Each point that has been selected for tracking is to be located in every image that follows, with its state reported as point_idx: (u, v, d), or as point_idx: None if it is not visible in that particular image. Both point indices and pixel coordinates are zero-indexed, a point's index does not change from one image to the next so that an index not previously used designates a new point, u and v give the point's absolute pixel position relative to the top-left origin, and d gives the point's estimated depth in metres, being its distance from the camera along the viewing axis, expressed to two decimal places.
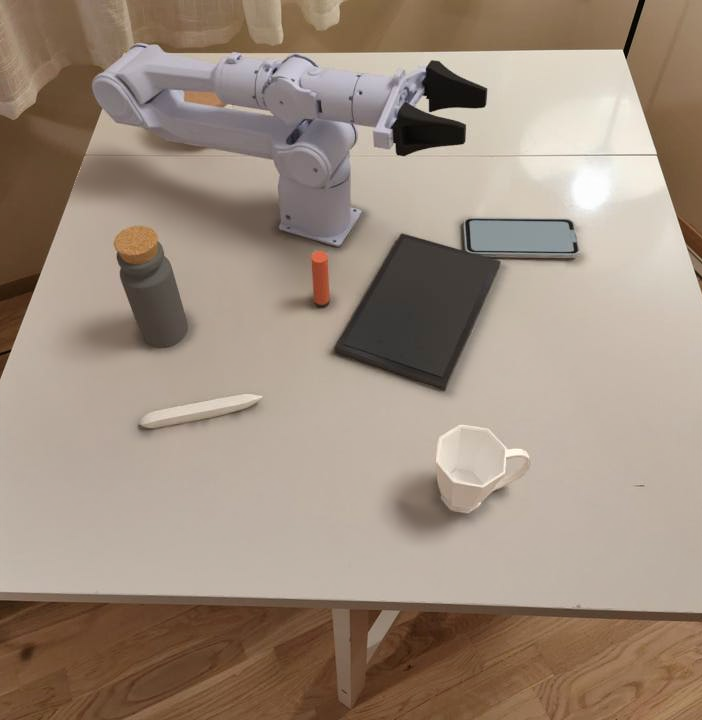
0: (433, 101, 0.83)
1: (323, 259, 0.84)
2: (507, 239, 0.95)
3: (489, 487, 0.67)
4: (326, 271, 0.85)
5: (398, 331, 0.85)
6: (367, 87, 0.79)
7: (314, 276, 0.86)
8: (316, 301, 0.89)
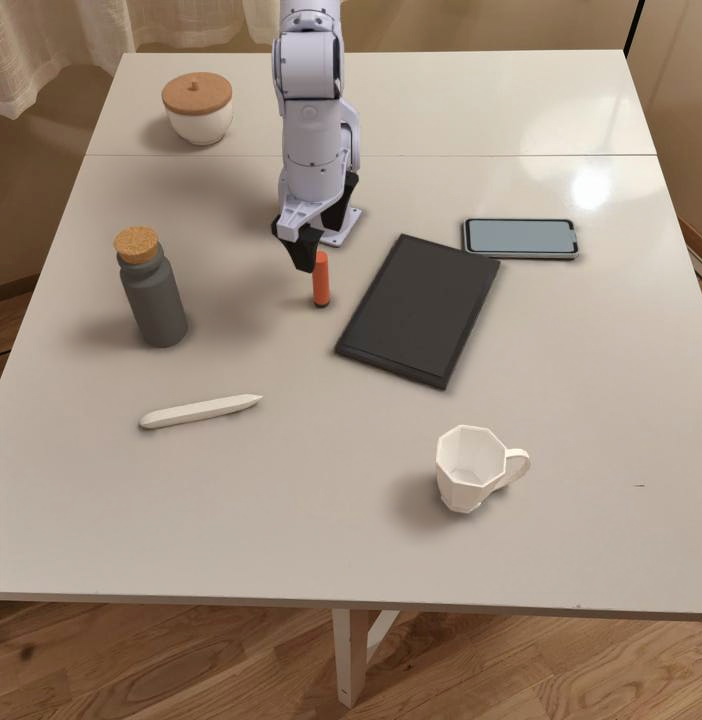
0: None
1: (323, 259, 0.84)
2: (507, 239, 0.95)
3: (489, 487, 0.67)
4: (326, 271, 0.85)
5: (398, 331, 0.85)
6: None
7: (314, 276, 0.86)
8: (316, 301, 0.89)
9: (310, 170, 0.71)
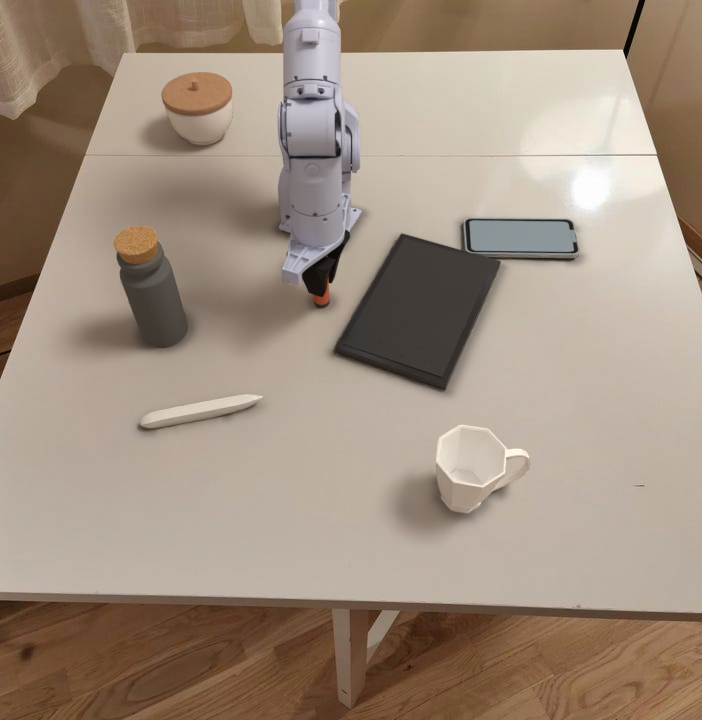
0: None
1: None
2: (507, 239, 0.95)
3: (489, 487, 0.67)
4: None
5: (398, 331, 0.85)
6: None
7: None
8: (316, 301, 0.89)
9: (313, 219, 0.76)
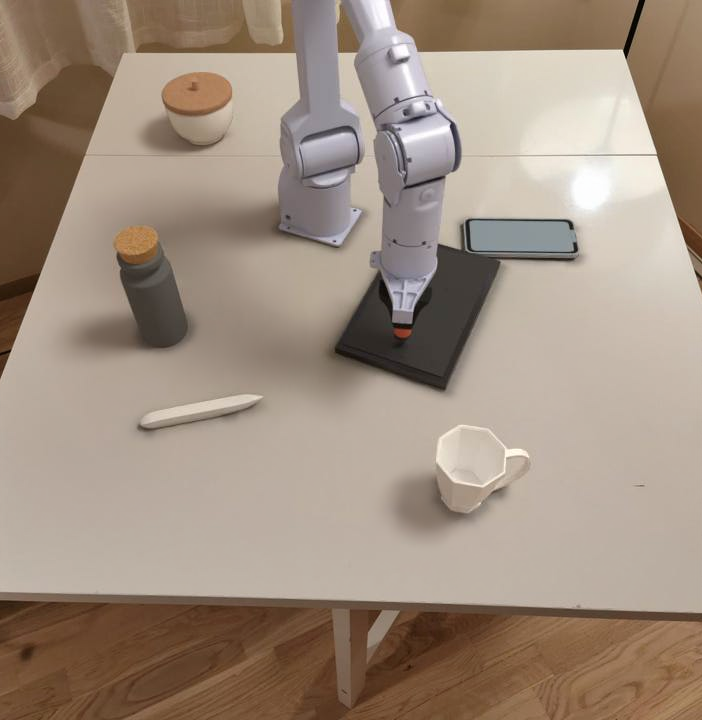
0: None
1: None
2: (507, 238, 0.95)
3: (489, 487, 0.67)
4: None
5: None
6: None
7: None
8: (399, 335, 0.82)
9: (417, 249, 0.69)
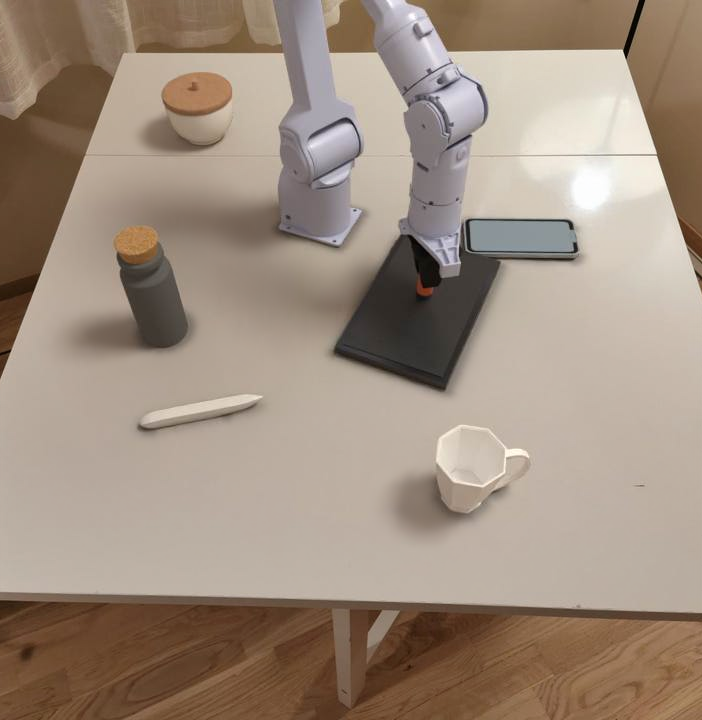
0: None
1: None
2: (507, 239, 0.95)
3: (489, 487, 0.67)
4: None
5: (398, 331, 0.85)
6: None
7: None
8: (424, 293, 0.88)
9: (452, 206, 0.75)
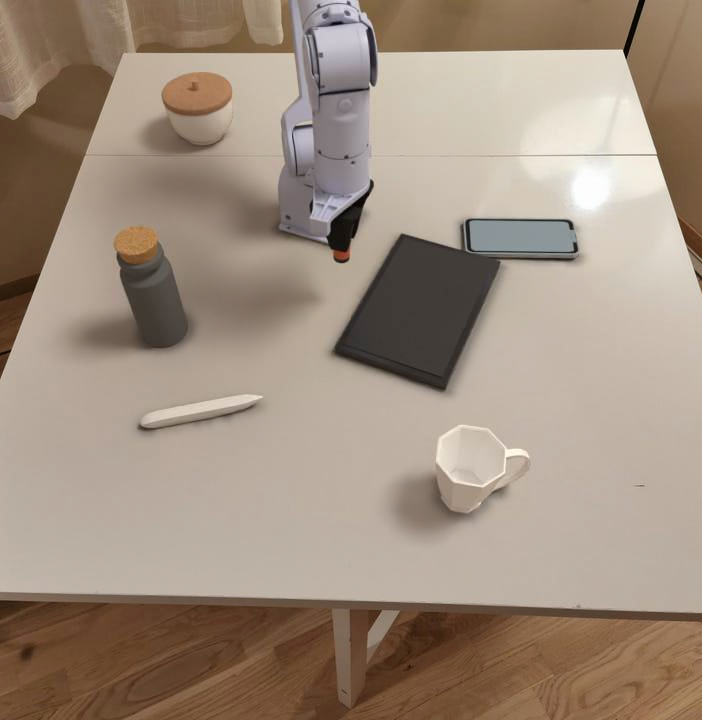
0: None
1: None
2: (507, 239, 0.95)
3: (489, 487, 0.67)
4: None
5: (398, 331, 0.85)
6: None
7: None
8: (336, 256, 0.84)
9: (340, 163, 0.71)
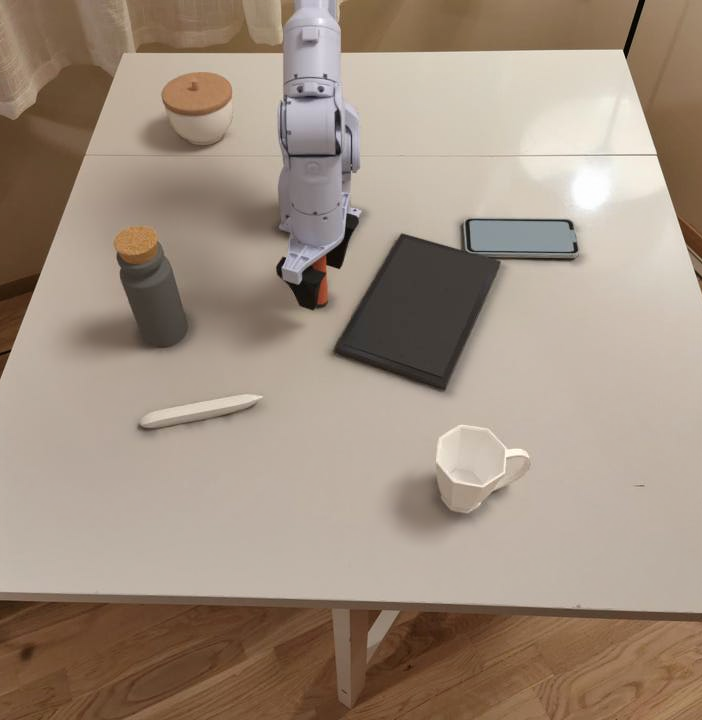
0: None
1: (321, 259, 0.84)
2: (507, 239, 0.95)
3: (489, 487, 0.67)
4: (324, 271, 0.85)
5: (398, 331, 0.85)
6: None
7: None
8: None
9: (313, 218, 0.76)
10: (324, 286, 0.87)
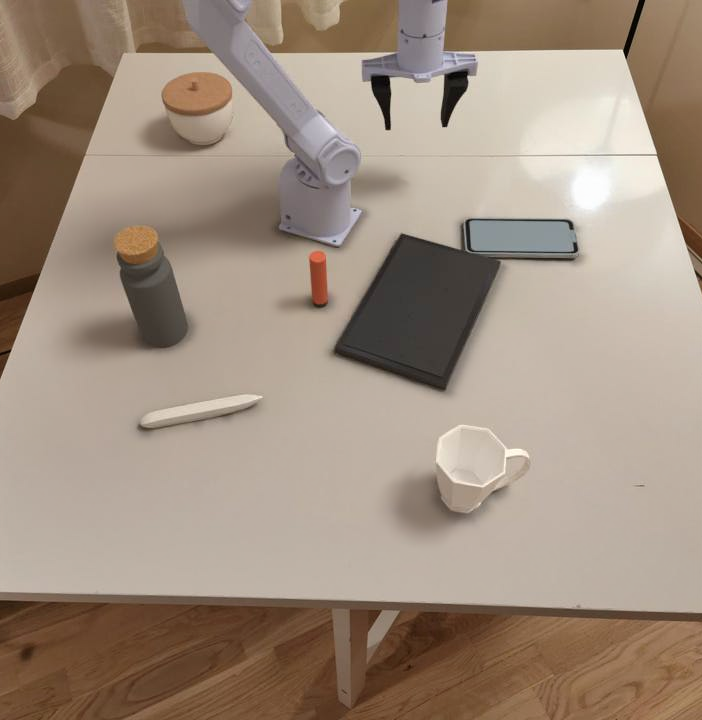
0: (445, 75, 0.92)
1: (321, 259, 0.84)
2: (507, 239, 0.95)
3: (489, 487, 0.67)
4: (324, 271, 0.85)
5: (398, 331, 0.85)
6: (411, 48, 0.85)
7: (312, 276, 0.86)
8: (314, 301, 0.89)
9: None
10: (324, 286, 0.87)
